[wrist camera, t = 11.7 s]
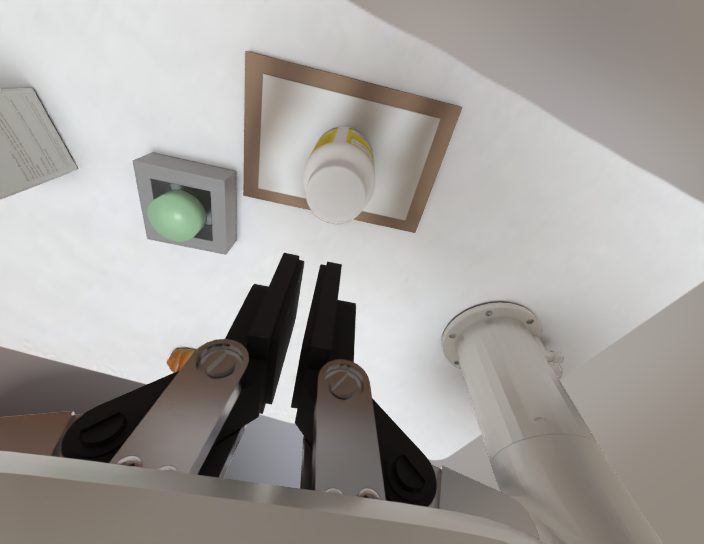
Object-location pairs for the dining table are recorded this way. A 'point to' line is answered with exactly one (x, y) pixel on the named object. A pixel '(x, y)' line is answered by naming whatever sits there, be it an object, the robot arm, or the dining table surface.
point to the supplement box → (28, 143)
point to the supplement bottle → (339, 175)
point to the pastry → (179, 358)
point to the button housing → (163, 170)
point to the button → (177, 215)
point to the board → (334, 111)
